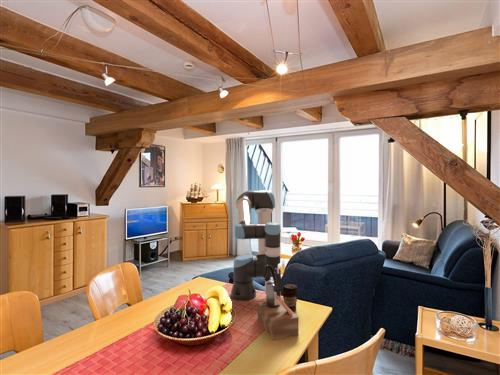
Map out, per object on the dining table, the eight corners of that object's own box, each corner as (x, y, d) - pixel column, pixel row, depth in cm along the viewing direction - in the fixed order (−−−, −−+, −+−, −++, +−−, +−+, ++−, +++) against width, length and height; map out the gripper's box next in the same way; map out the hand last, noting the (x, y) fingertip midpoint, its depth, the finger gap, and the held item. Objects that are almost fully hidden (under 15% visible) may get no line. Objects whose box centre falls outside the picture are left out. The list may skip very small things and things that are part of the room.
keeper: (276, 296, 126) (277, 295, 127) (286, 311, 128) (288, 309, 128) (280, 300, 122) (282, 299, 122) (291, 315, 123) (293, 314, 124)
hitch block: (258, 318, 138) (257, 302, 138) (280, 314, 141) (280, 299, 141) (273, 340, 119) (273, 321, 119) (298, 335, 122) (298, 317, 122)
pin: (264, 313, 137) (264, 282, 137) (276, 311, 139) (276, 281, 139) (269, 319, 131) (269, 287, 131) (281, 317, 133) (281, 286, 133)
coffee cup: (299, 314, 142) (299, 289, 142) (283, 314, 142) (283, 289, 142) (297, 306, 151) (296, 283, 150) (281, 306, 151) (281, 283, 151)
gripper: (257, 249, 145) (257, 290, 146) (274, 262, 122) (274, 311, 123) (270, 248, 147) (270, 288, 148) (290, 261, 124) (290, 308, 125)
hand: (272, 298), depth 135 cm, fingers open, 12 cm apart
